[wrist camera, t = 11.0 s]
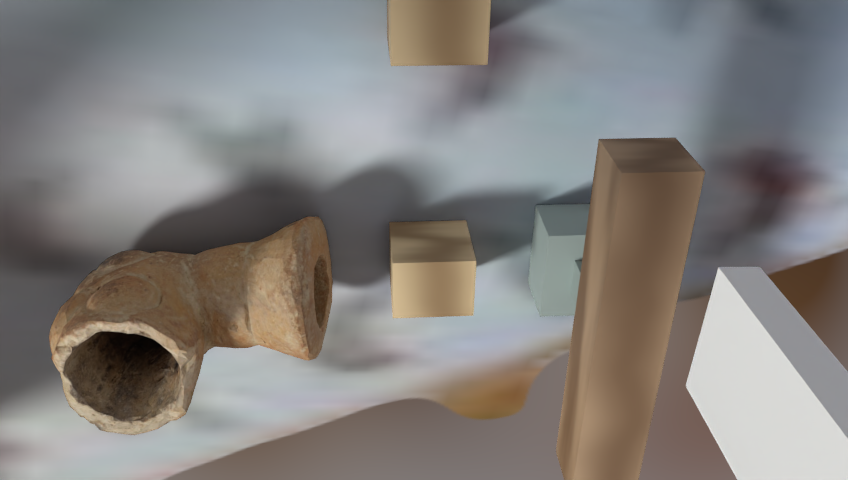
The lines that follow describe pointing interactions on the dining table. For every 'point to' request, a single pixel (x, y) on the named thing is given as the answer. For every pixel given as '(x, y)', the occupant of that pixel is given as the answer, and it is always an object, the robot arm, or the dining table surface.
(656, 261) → the rod
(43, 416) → the dining table surface
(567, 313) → the block
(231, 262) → the pipe
